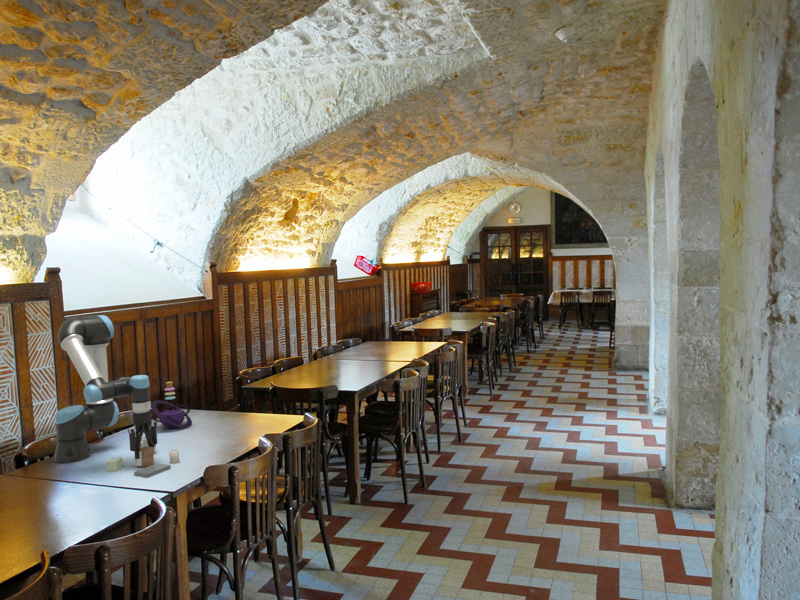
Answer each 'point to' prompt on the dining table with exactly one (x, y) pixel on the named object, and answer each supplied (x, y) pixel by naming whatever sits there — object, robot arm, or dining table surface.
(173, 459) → the stone cylinder
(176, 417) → the decorative bottle
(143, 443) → the cup
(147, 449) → the walnut block
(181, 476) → the dining table surface
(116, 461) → the sage cube
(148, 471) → the slate board
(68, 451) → the robot arm
